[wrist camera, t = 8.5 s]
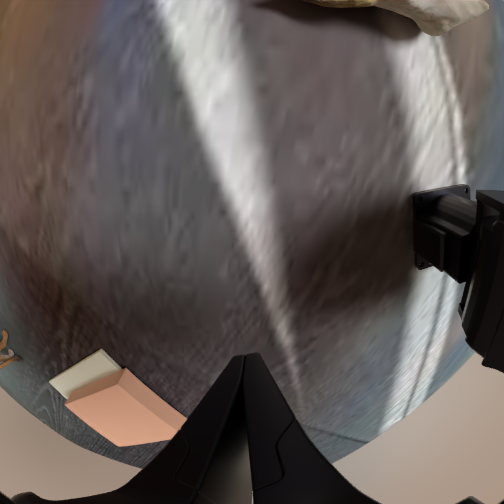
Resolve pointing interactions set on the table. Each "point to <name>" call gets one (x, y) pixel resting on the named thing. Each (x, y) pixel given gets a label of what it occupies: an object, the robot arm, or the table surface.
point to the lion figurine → (8, 358)
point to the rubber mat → (85, 373)
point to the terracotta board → (125, 410)
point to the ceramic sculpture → (422, 11)
